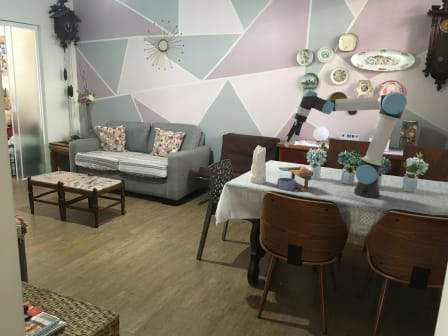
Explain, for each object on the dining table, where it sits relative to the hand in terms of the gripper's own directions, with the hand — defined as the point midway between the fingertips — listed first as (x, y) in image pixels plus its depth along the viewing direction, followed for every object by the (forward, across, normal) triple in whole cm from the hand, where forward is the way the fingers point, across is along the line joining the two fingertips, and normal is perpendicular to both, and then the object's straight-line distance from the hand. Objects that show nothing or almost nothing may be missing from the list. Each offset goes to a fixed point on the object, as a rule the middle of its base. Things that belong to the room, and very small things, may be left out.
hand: (289, 145), depth 233 cm
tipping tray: (+19, -5, +11) cm, 22 cm away
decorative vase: (+33, -2, -11) cm, 35 cm away
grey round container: (+26, +2, +10) cm, 28 cm away
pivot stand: (+24, -4, +16) cm, 29 cm away
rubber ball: (+11, -3, +14) cm, 18 cm away
